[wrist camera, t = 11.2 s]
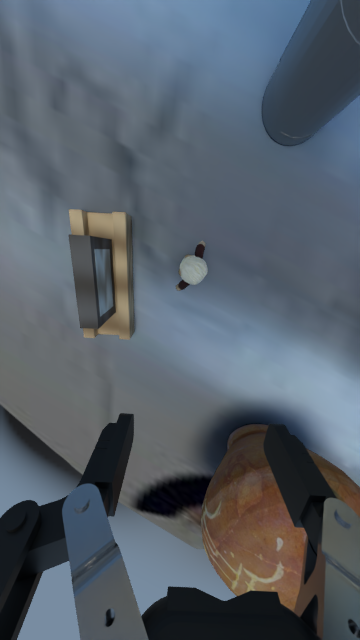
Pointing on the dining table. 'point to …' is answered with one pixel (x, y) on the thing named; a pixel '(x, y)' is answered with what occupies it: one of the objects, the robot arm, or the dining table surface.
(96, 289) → the dark grey block
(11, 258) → the dining table surface
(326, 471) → the jug
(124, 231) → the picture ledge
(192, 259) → the grandmother figurine
